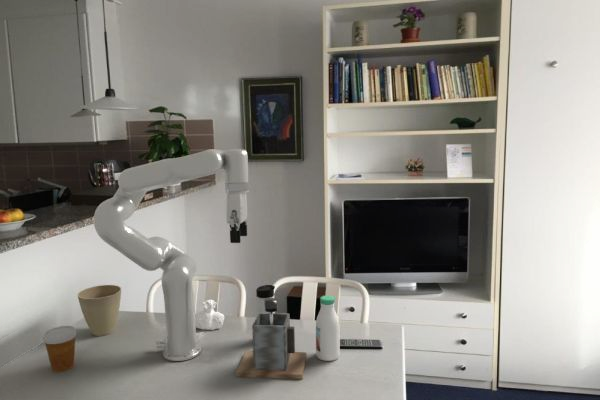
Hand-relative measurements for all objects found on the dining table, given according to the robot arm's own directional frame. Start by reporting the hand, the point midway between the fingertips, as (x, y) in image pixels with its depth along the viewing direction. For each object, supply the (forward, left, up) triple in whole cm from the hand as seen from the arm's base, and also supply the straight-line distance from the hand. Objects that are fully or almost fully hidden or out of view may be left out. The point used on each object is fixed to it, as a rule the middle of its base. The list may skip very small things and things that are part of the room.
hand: (239, 239), depth 150 cm
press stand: (+12, -11, -38) cm, 42 cm away
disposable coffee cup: (-55, -16, -38) cm, 69 cm away
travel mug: (+7, +7, -38) cm, 40 cm away
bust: (-17, +17, -39) cm, 45 cm away
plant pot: (-56, +10, -38) cm, 69 cm away
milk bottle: (+29, -3, -38) cm, 48 cm away
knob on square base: (+12, -11, -34) cm, 37 cm away
